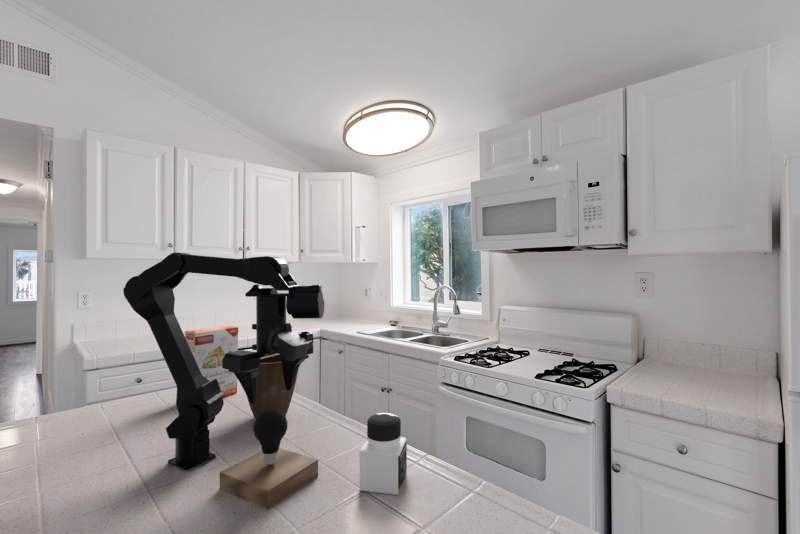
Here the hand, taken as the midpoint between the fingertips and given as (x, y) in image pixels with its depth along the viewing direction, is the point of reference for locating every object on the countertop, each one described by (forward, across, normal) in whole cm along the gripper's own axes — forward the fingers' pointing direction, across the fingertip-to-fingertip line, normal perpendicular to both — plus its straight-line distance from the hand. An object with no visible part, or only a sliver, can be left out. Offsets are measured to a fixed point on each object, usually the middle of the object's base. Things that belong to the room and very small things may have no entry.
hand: (271, 396), depth 80 cm
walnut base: (+13, -6, -6) cm, 15 cm away
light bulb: (+10, -6, -6) cm, 13 cm away
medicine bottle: (+13, +5, -24) cm, 28 cm away
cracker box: (+13, +19, +46) cm, 52 cm away
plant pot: (+13, +16, +18) cm, 28 cm away
